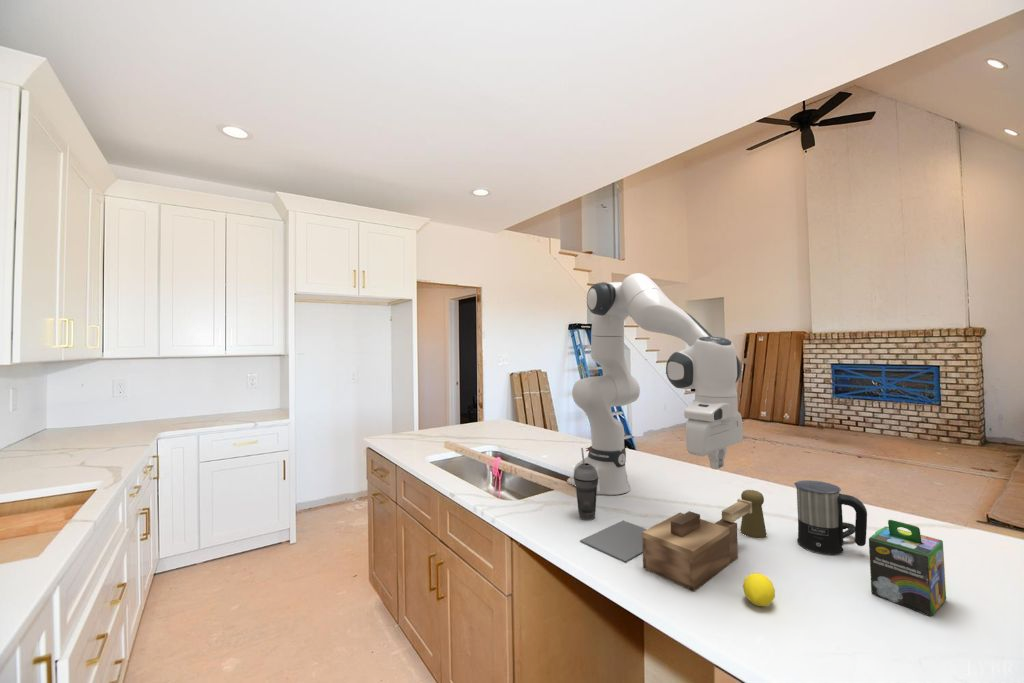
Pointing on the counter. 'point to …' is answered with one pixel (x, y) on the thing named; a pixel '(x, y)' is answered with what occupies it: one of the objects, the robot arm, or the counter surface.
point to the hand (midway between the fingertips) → (717, 467)
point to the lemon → (759, 589)
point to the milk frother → (827, 517)
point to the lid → (686, 533)
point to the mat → (618, 541)
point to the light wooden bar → (737, 510)
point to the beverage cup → (586, 489)
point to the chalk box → (907, 567)
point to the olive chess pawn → (753, 515)
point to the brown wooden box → (692, 560)
